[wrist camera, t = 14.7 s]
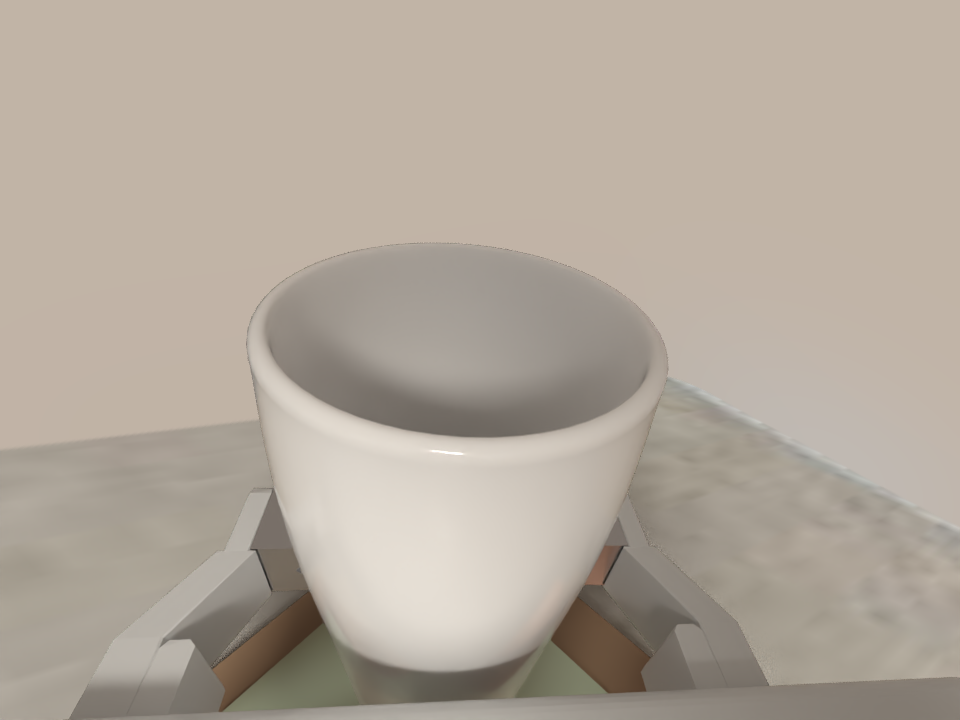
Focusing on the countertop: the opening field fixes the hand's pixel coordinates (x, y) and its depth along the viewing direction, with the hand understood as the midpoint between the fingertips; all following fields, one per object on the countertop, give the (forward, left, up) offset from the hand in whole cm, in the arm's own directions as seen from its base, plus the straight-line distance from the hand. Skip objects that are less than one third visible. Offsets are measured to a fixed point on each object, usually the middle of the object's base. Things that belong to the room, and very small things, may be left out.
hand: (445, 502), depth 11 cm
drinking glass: (+1, -1, -9) cm, 9 cm away
